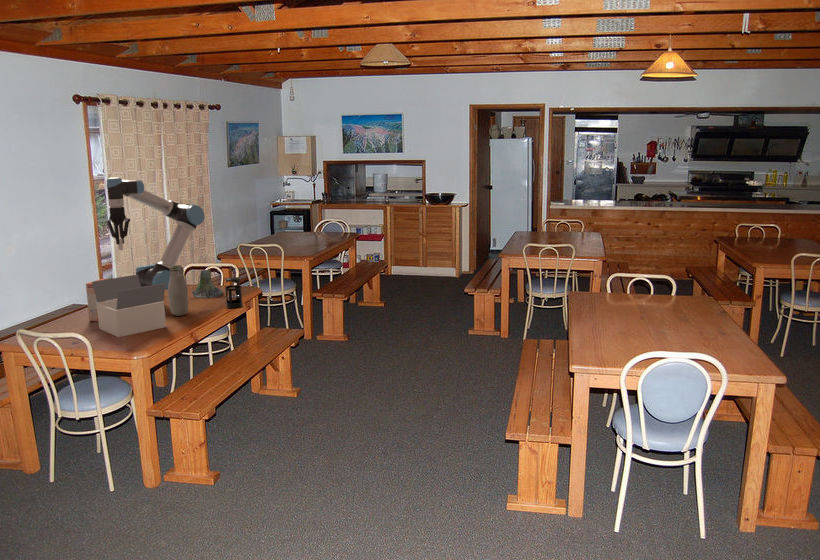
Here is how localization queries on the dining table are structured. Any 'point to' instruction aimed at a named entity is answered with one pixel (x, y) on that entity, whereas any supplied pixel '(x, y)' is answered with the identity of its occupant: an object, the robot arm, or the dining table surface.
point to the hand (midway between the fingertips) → (120, 249)
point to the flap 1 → (114, 287)
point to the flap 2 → (140, 296)
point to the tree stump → (206, 287)
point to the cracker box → (92, 302)
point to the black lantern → (233, 303)
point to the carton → (130, 318)
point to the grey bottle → (178, 291)
